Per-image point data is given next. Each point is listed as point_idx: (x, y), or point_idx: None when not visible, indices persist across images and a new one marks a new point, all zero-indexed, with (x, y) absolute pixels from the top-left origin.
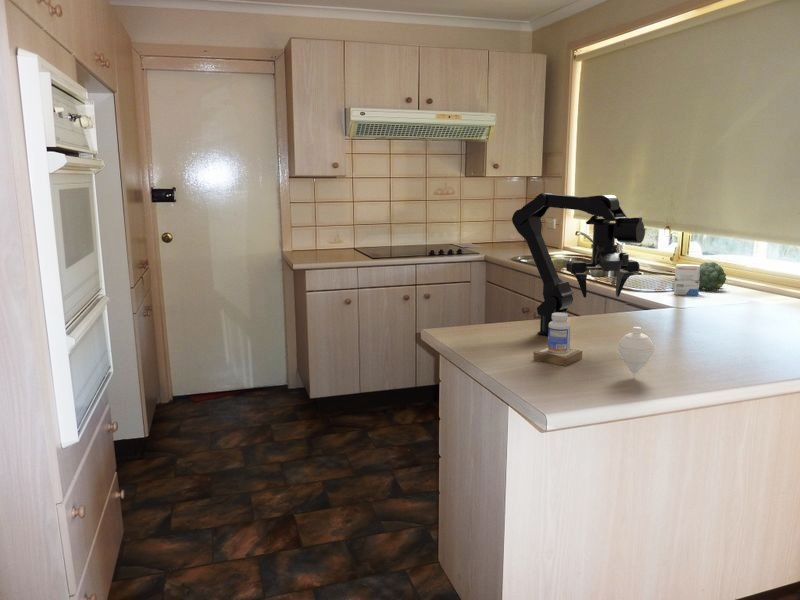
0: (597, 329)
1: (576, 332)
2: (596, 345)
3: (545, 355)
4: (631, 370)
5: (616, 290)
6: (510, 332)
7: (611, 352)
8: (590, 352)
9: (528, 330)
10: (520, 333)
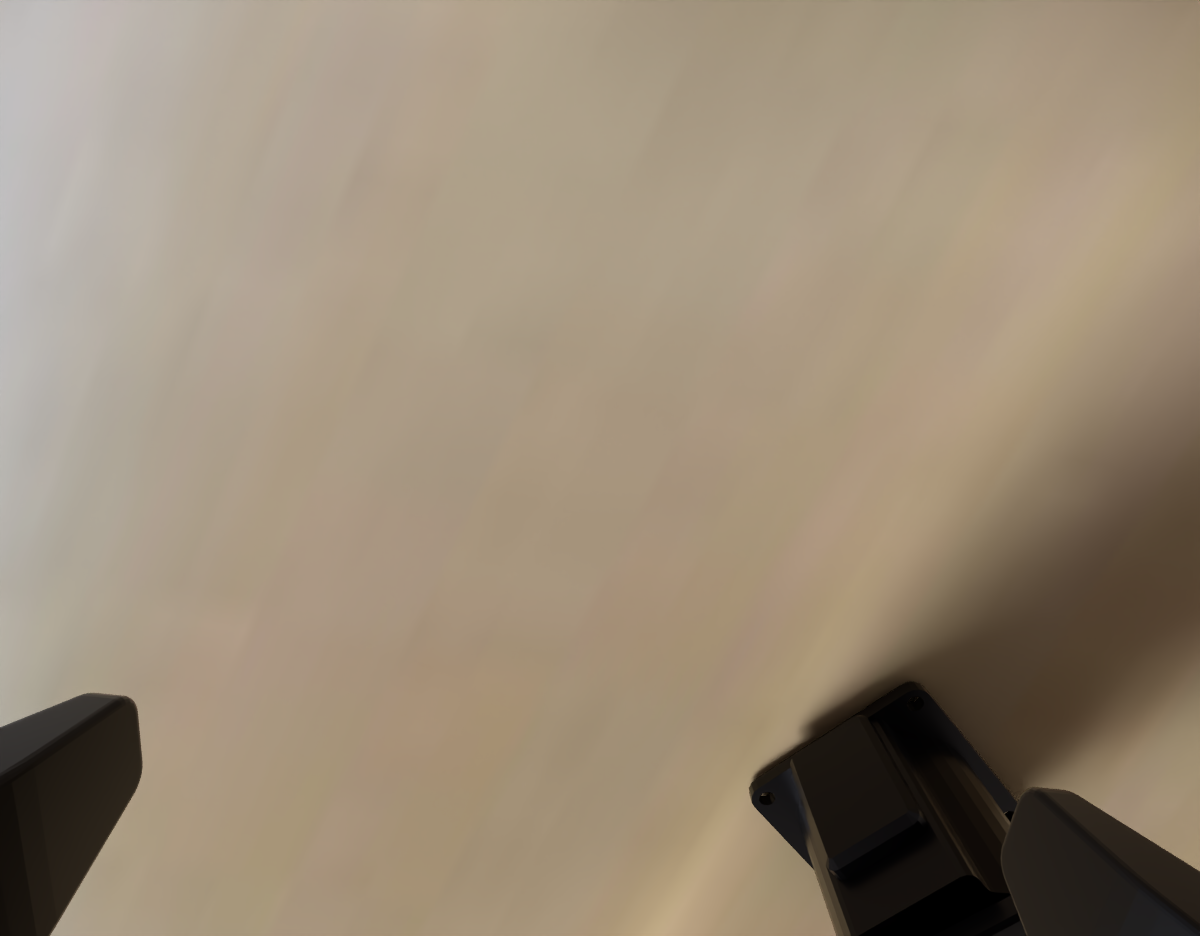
0: (404, 855)
1: (636, 802)
2: (680, 331)
3: None
4: None
5: (6, 927)
6: None
7: (664, 7)
8: (890, 60)
9: None
10: None
